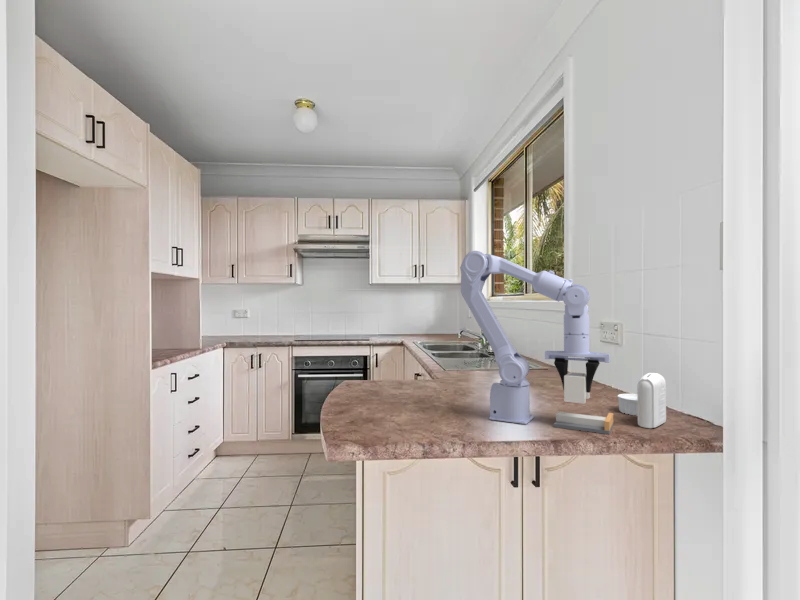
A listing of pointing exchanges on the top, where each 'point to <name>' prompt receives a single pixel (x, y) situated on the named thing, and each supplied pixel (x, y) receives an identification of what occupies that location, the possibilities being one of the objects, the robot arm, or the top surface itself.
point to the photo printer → (651, 400)
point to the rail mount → (584, 422)
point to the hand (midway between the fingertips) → (576, 390)
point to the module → (575, 388)
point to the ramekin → (628, 403)
